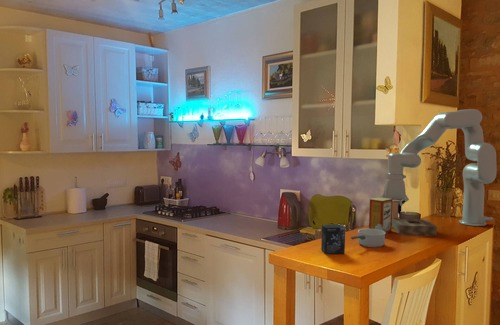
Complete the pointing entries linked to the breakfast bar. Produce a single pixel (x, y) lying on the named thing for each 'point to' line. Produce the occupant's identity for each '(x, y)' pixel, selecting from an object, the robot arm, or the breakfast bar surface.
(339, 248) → the box
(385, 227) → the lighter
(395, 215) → the peg
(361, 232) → the saucepan
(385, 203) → the baking soda box
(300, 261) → the breakfast bar surface
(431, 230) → the socket block
